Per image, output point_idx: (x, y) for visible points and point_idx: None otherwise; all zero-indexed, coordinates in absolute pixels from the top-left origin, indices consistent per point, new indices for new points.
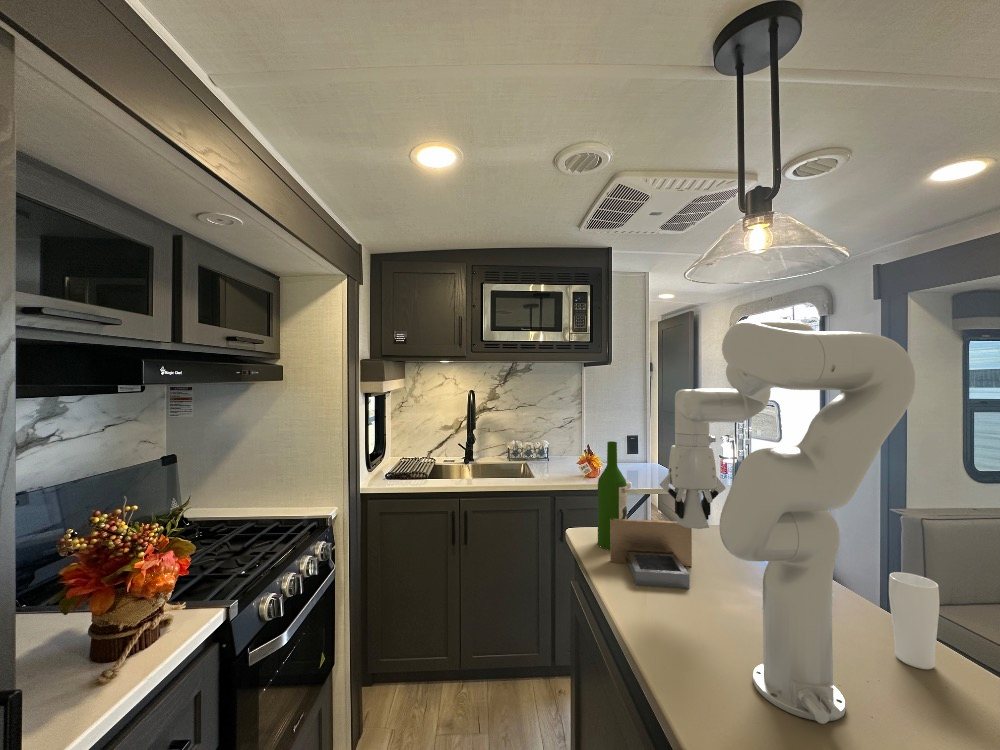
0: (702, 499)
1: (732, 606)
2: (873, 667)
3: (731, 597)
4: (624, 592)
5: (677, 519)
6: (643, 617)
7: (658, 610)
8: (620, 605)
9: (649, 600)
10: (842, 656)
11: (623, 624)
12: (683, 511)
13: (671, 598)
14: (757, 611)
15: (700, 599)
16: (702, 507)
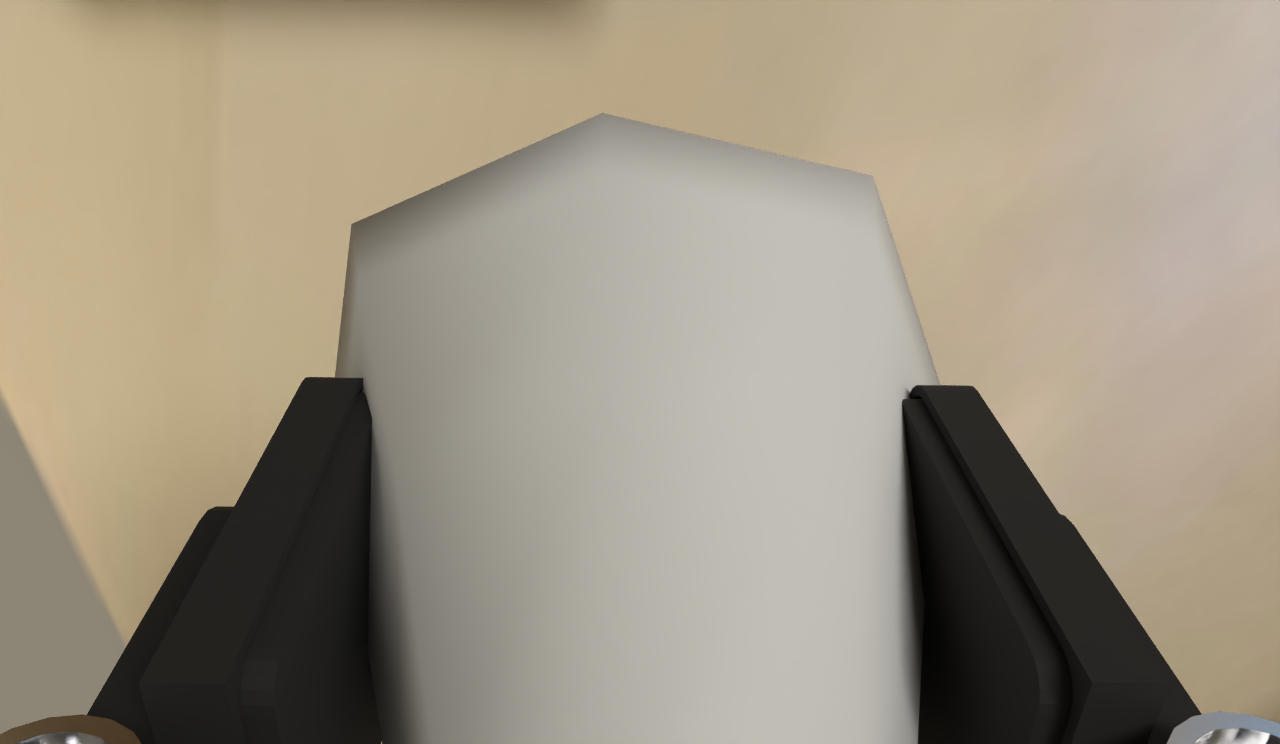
0: (1119, 679)
1: (886, 180)
2: (1229, 670)
3: (965, 18)
4: (17, 33)
5: (348, 316)
6: (191, 404)
7: (301, 305)
8: (13, 267)
9: (241, 160)
10: (1162, 618)
11: (65, 493)
12: (379, 737)
13: (431, 101)
14: (1033, 234)
15: (675, 90)
16: (942, 639)
